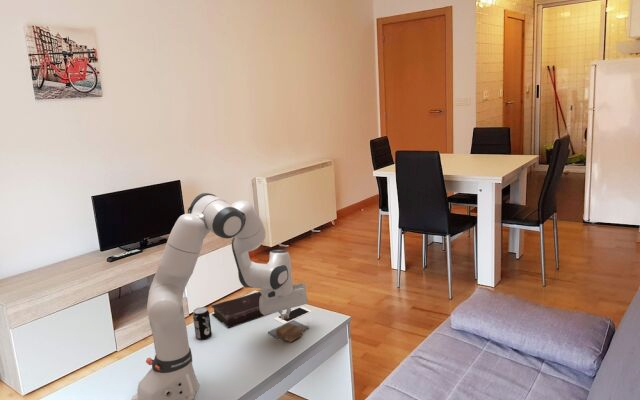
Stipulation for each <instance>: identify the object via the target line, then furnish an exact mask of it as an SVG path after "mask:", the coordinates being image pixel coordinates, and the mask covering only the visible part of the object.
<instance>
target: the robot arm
mask: <svg viewBox="0 0 640 400" xmlns="http://www.w3.org/2000/svg"><path fill="white" fill-rule="evenodd" d="M261 219H262V218H260V215H259V214H258V212H257V210H256V209H255V207H254V206H253V204H251V203H250V202H249V201H247V200H241V199H240V200H236V201H234V202H232V203H231V204H229V202H227V201H226V200H224V199H223V198H221V197H219V196H217V195H215V194H213V193H208V192H202V193H199V194H198V195H196V197H195V198H194V199H192V202H191V203H190V206H189V207H188V209H187V213H184V214H182V215H180V216H179V217H178V218H177V220H176V221H175V223H174V226H173V227H172V229H171V231H170V234H169V236H168V238H167V241H166V245H165V247H164V250H163V252H162V255H161V259H160V262H159V265H158V267H157V269H156V272H155V274H154V276H153V279H152V282H151V284H150V287H149V290H148V298H147V304H146V312H147V313H146V314H147V318H148V321H149V326H150V327H149V328H150V330H151V334H152V338H153V345H154V350H155V352H154V353H155V355H154V358H153V359H152V358H151V357H147V358H146V360H145V363H146V364H147V365H149V366H151V369H149V370H148V371H147V373H146V374H145V376H143V378H141V380H140V381H139V382H138V385H137V393H136V394H135V395H133V396H132V398H131V400H194V398H195V394H196V393H197V392H198V390H199V388H200V382H199V380H198V378H197V376H196V374H195V370H194V365H193V355H192V354H193V353H192V348H191V347H190V344H189V343H190V342H189V337H188V335H189V334H188V331H187V325H186V324H187V323H186V320H185V319H186V318H185V313H184V312H185V311H184V304H183V299H184V293H185V289H186V287H187V285H188V282H189V281H190V278H191V276H192V275H193V273H194V270H195V266H196V264H197V262H198V259H199V255H200V253H201V250H202V247H203V243H204V241H205V238H206V236H207V235H209V233H213V234H215V235H216V236H217V237H219V238H222V239H232V240H231V249H232V253H233V254H232V255H233V257H234V258H233V259H234V261H235V264H236V268H237V271H238V272H237V273H238V274H237V275H238V281H239V282H240V283H241V285H242V287H244V288H250V289H251V288H252V289H253V288H257V289H259V290H260V291H259V292H261V294H262V295H261V296H260V299H259V309H260V312H261V313H262V314H263V315H264V316H267V315H270V314H273V313H277V312H278V314H279V316H280V315H281V319H282V320H284V319H288V318H289V314H290V312H291V310H292V309H294V308H298V307H301V306H305V305H307V304H308V295H307V285H306V284H305V283H303V282H299V283H295V284H294V282H293V276H292V270H293V269H292V267H293V266H292V261H291V260H292V259H291V255H290V253H289V251H288V250H286V249H273V250H271V251H269V261H268V262H267V263H260V262H255V261H253V260H251V259H250V255H249V254H250V253H249V252H252V251H254V250H257V249H259V247H261V245H262V244H263V243H264V241H265V239H266V228H265V226H264V224H263V221H262V220H261ZM285 310H286V311H285ZM284 311H285V313H283V312H284Z"/></svg>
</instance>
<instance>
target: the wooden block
mask: <svg viewBox="0 0 640 400" xmlns="http://www.w3.org/2000/svg"><path fill="white" fill-rule="evenodd" d="M303 332H304V331H302V328H300V327H298V326H295V325H292V324H290V323H287V324H286V325H284V326H282V327H280V328H278V329H276V333H277V337H279V338H282V339H284V340H285V341H287V342H289V343H292V342H293V341H295V340H297V339H298V338H300V337H302V336H303Z"/></svg>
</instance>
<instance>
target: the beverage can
mask: <svg viewBox="0 0 640 400" xmlns="http://www.w3.org/2000/svg"><path fill="white" fill-rule="evenodd" d="M192 319H193V325H194V333H195V338H197V339H198V340H201V341H202V340H207V339H209V338H210V337H211V336H212V334H213V333H212V324H211V318H210V311H209V309H208V307H205V306H201V307H197V308H195V309H194V310H193V313H192Z"/></svg>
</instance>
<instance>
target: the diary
mask: <svg viewBox="0 0 640 400" xmlns="http://www.w3.org/2000/svg"><path fill="white" fill-rule="evenodd" d="M261 295H262V294H261V292H260V291H257V292H253V293H249V294H247V295H242V296H241V297H238V298H233V299H229V300H226V301H224V300H223V301H222V302H219V303H215V304H212V305H210V307H211V308H212V309H213V312H214V313H212V314H211V316H213V318H215V319H216V320H218V322H220V323H221V324H222V323H223V324H225V325H226V326H227V329H230V328H233V327H236V326H238V325H241V324H244V323H247V322H250V321H252V320H256V319H259V318H261V317H264V316H265V315H263V314H262V313H261V312H260V309H259V299H260V296H261Z"/></svg>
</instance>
